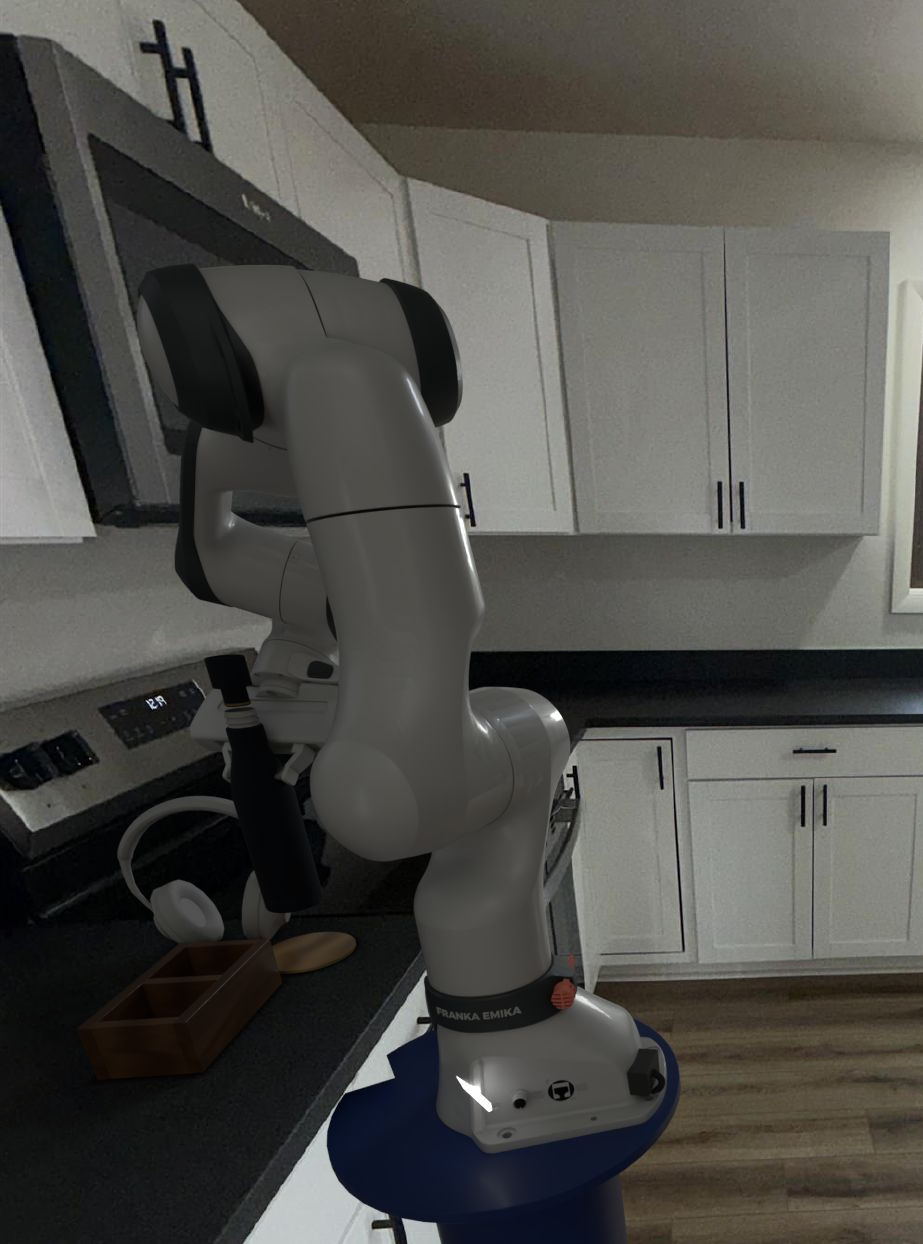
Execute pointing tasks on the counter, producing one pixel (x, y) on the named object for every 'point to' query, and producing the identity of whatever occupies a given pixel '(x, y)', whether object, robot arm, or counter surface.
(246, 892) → the headphones
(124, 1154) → the counter surface
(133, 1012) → the wooden compartment tray
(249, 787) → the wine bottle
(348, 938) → the coaster
